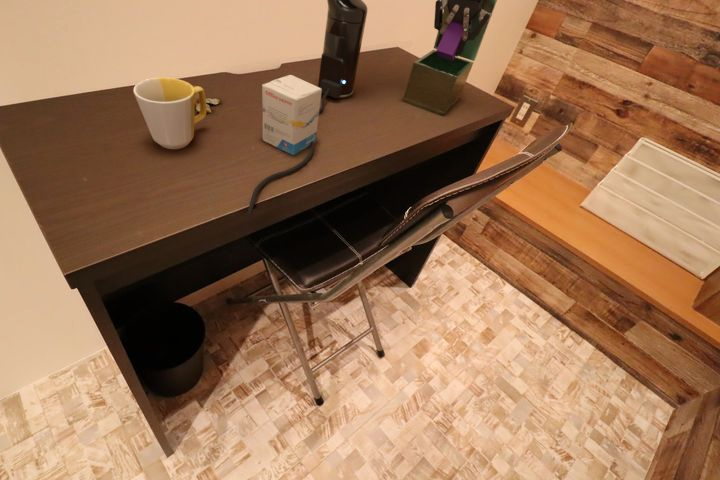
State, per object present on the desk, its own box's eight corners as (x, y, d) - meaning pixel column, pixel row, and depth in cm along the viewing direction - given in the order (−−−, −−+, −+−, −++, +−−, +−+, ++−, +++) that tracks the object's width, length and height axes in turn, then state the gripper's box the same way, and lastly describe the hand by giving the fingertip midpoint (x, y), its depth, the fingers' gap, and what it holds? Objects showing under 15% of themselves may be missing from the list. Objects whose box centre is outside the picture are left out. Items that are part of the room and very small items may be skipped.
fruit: (206, 116, 81) (205, 99, 78) (171, 108, 82) (168, 91, 79) (221, 101, 87) (220, 85, 84) (189, 93, 87) (186, 77, 84)
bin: (442, 115, 96) (457, 76, 89) (402, 100, 100) (413, 62, 92) (458, 99, 106) (473, 62, 98) (421, 85, 109) (433, 49, 102)
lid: (499, -7, 85) (505, -14, 87) (451, -19, 88) (458, -26, 90) (473, 61, 98) (479, 53, 100) (433, 48, 101) (440, 41, 103)
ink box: (316, 142, 79) (323, 87, 71) (292, 156, 74) (296, 99, 66) (286, 127, 82) (289, 72, 74) (261, 140, 77) (261, 83, 69)
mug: (162, 161, 68) (150, 106, 60) (137, 137, 72) (122, 83, 64) (225, 142, 75) (221, 90, 67) (199, 121, 79) (192, 70, 72)
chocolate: (453, 61, 94) (452, 55, 91) (437, 56, 95) (436, 50, 92) (468, 28, 92) (468, 21, 88) (452, 23, 93) (451, 16, 90)
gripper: (442, -37, 81) (417, 48, 94) (504, -21, 77) (470, 65, 90) (452, -39, 86) (427, 41, 99) (511, -25, 82) (478, 57, 95)
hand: (448, 52), depth 94 cm, fingers closed on chocolate, 4 cm apart
